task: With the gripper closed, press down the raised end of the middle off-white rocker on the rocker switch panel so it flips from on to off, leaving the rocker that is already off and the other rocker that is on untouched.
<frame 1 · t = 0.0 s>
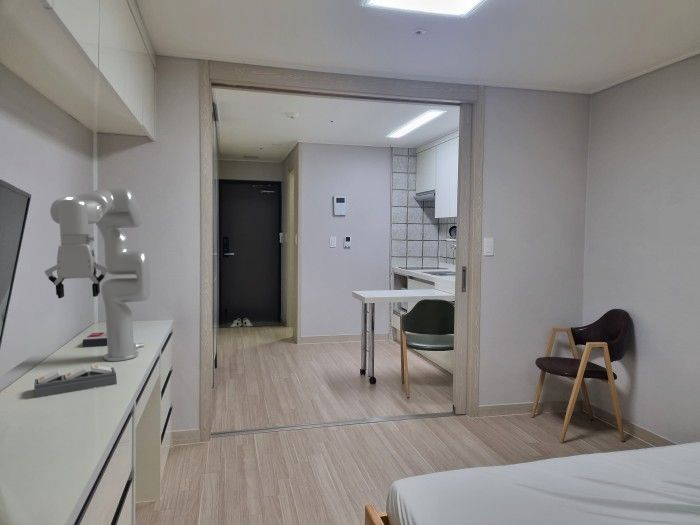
hand: (78, 296, 150), 31 cm above the table, tool pointing down, fingers open, 9 cm apart
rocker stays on: (49, 377, 157), point 5 cm above the table, hinge at 20.0°
rocker middle: (75, 373, 161), point 5 cm above the table, hinge at 20.0°
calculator: (101, 343, 221), on the table
rocker switch panel: (76, 386, 162), on the table
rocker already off: (101, 369, 165), point 5 cm above the table, hinge at -20.0°
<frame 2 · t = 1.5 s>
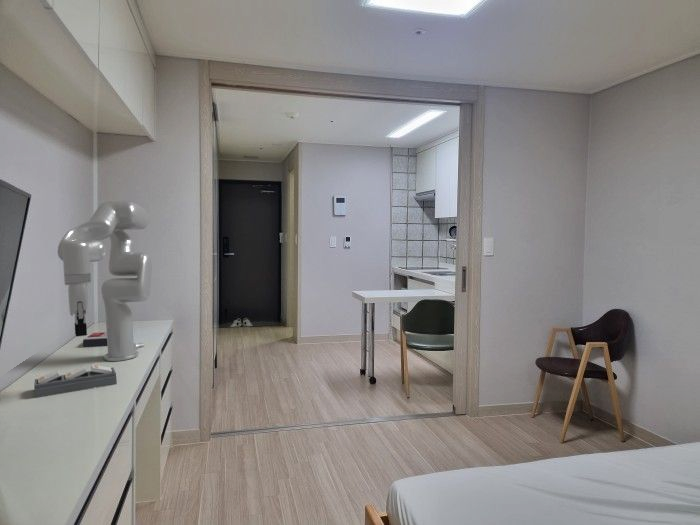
hand: (81, 334, 161), 17 cm above the table, tool pointing down, fingers closed
nothing on the table moved.
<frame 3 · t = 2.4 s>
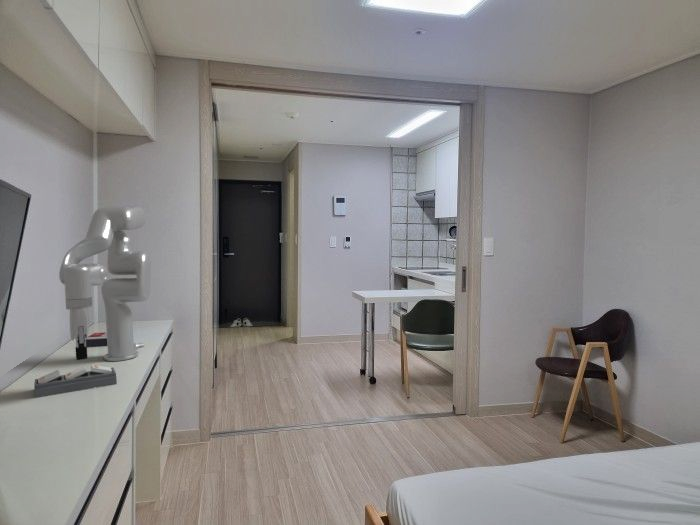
hand: (81, 358, 162), 9 cm above the table, tool pointing down, fingers closed
nothing on the table moved.
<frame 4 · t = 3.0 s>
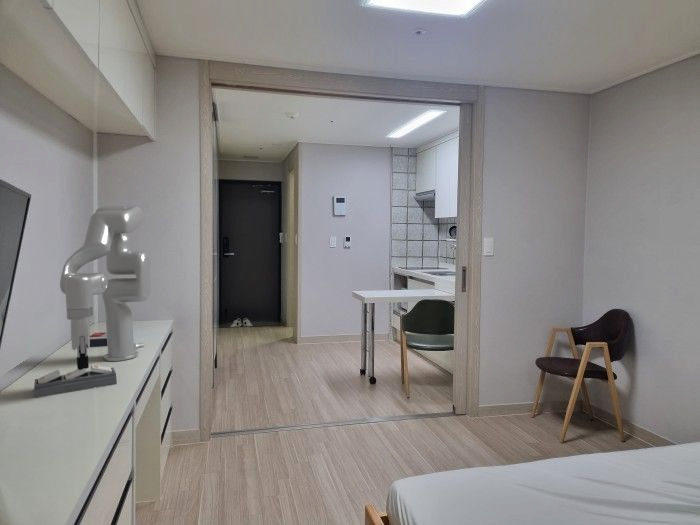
hand: (83, 368, 162), 6 cm above the table, tool pointing down, fingers closed
rocker middle: (75, 373, 161), point 5 cm above the table, hinge at 19.9°, touching gripper
everything else where it was.
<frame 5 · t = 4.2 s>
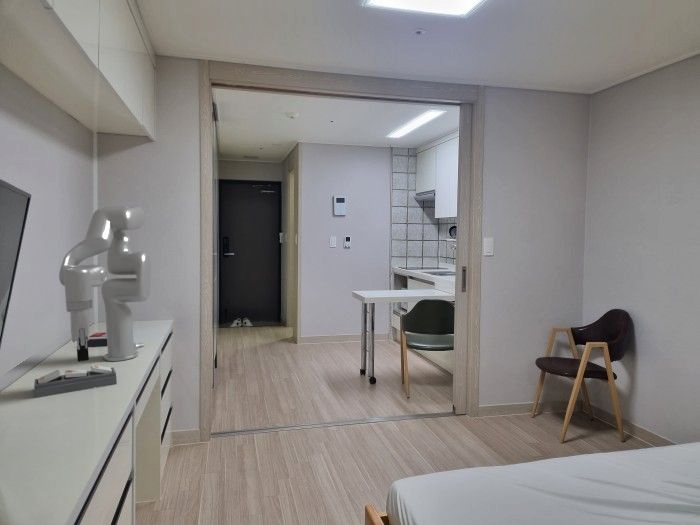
hand: (83, 360, 163), 8 cm above the table, tool pointing down, fingers closed
rocker middle: (75, 373, 161), point 5 cm above the table, hinge at -6.4°
everything else where it was.
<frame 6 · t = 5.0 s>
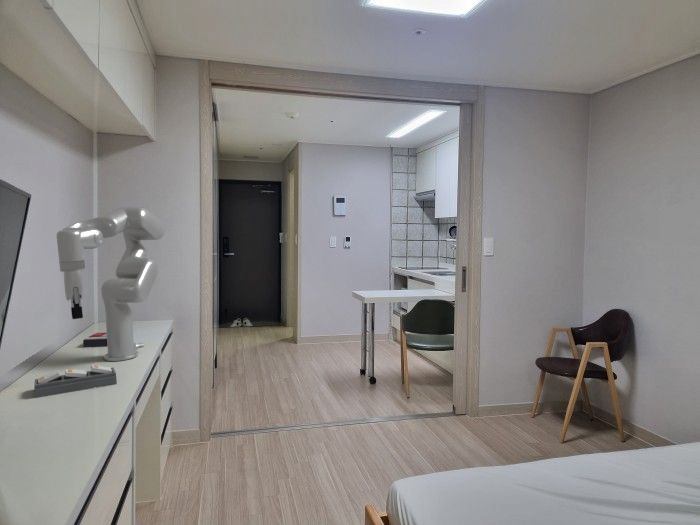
hand: (77, 318, 171), 21 cm above the table, tool pointing down, fingers closed
rocker middle: (75, 373, 161), point 5 cm above the table, hinge at -14.5°
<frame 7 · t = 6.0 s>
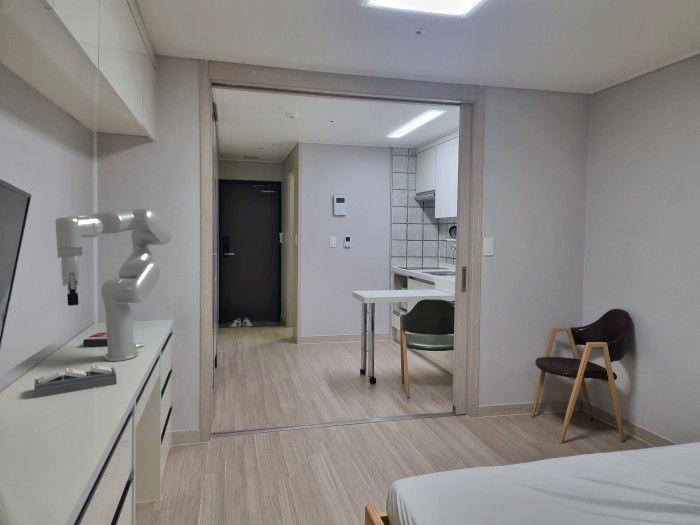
hand: (73, 304, 172), 25 cm above the table, tool pointing down, fingers closed
rocker middle: (75, 373, 161), point 5 cm above the table, hinge at -21.4°
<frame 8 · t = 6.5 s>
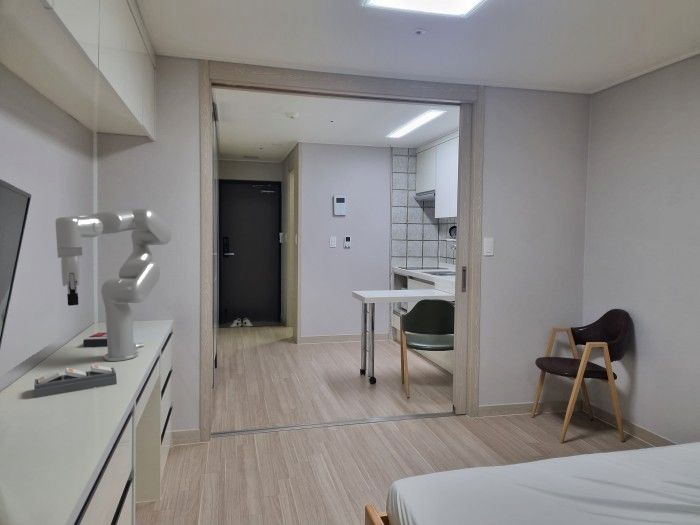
hand: (73, 304, 172), 25 cm above the table, tool pointing down, fingers closed
rocker middle: (75, 373, 161), point 5 cm above the table, hinge at -23.9°
at the end: rocker middle at -25° (first picture: +20°); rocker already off at -20° (first picture: -20°); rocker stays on at +20° (first picture: +20°) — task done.
